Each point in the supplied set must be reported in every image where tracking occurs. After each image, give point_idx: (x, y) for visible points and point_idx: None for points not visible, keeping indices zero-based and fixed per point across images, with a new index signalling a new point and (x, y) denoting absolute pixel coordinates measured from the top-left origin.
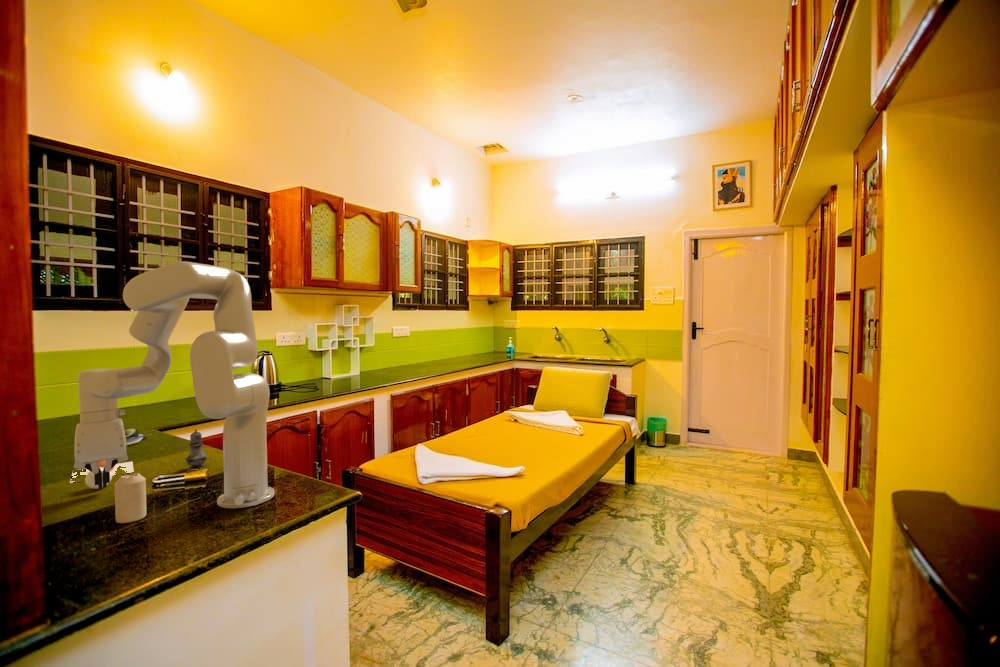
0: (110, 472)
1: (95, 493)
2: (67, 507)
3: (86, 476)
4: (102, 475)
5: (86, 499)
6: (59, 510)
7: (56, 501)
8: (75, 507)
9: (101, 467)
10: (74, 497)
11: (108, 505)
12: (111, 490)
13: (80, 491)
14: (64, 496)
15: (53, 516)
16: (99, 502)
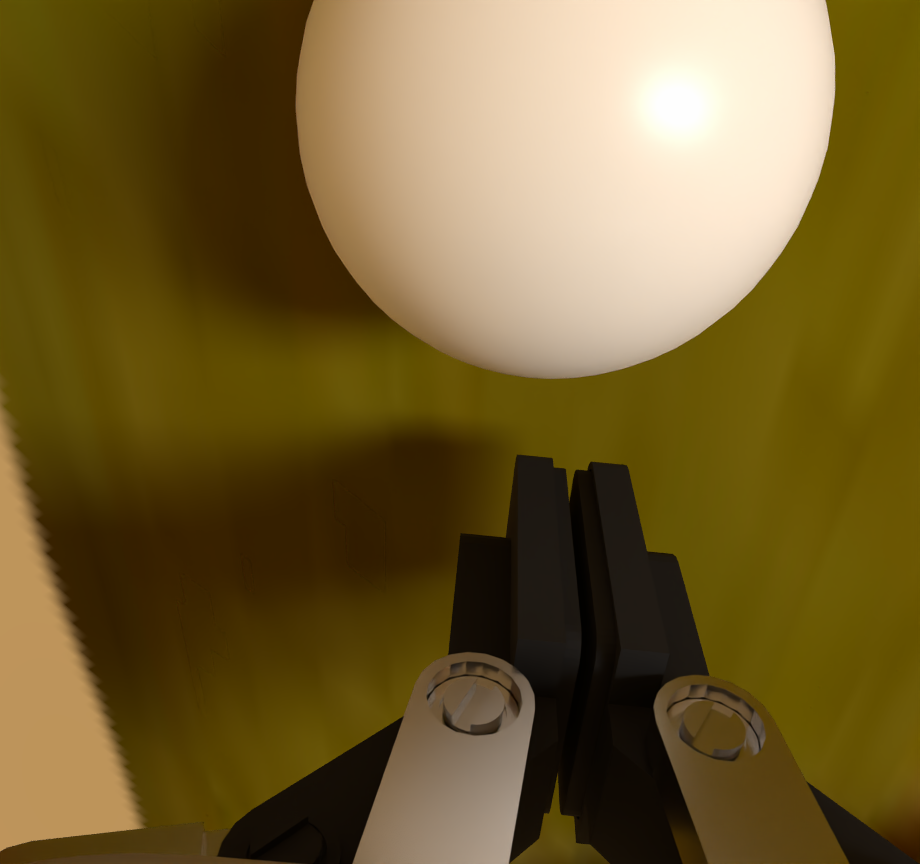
0: (799, 221)
1: (474, 375)
2: (214, 683)
3: (311, 190)
4: (559, 781)
5: (371, 557)
6: (158, 716)
7: (40, 375)
8: (285, 731)
9: (657, 136)
10: (230, 359)
11: (542, 859)
12: (668, 390)
13: (275, 53)
14: (84, 186)
15: (145, 822)
16: None
